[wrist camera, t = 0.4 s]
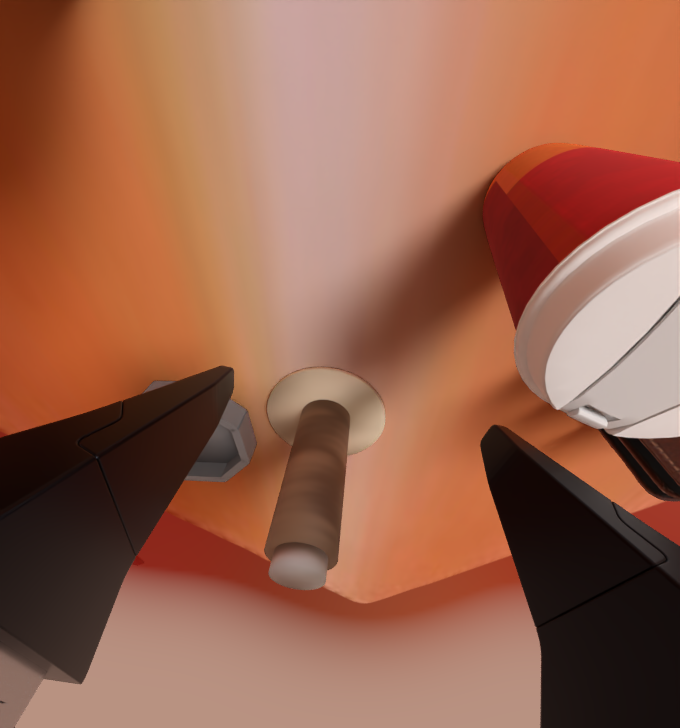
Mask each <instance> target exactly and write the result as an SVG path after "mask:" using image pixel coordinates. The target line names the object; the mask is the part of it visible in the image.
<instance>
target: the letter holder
mask: <svg viewBox="0 0 680 728" xmlns="http://www.w3.org/2000/svg"><path fill="white" fill-rule="evenodd" d="M598 430H599V431H600V432H601V434H602V435H603V437H604V438H605V439H606V440H607V442H608V443H609V444H610V446H611V447H612V448H613V449H614V450H615V452H616V453H617V454H618V455H619V457H620V458H621V459H622V460H623V462H624V463H625V464H626V466H627V467H628V469H629V470H630V471H631V472H632V474H633V475H634V476H635V478H636V479H637V481H638V482H639V483H640V485H641V486H642V487H643V488H644V489H645V490H646V491H647V492H648V493H649V494H651V495H653V496H654V497H656V498H658V499H661V500H664V501H680V437H671V438H627V437H619V436H613V435H612V434H608V433H607V432H606V431H605V430H604V428H602V429H598Z"/></svg>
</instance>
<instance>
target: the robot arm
mask: <svg viewBox="0 0 680 728" xmlns="http://www.w3.org/2000/svg"><path fill="white" fill-rule="evenodd" d="M233 388H234V370H233V368H231V367H226V366H219V367H216V368H213V369H210V370H207V371H205V372H202V373H199V374H196V375H193V376H191V377H188V378H185V379H182V380H179V381H176V382H174V383H171V384H168V385H165V386H162V387H160V388H157V389H154V390H151V391H148V392H145V393H143V394H140V395H137V396H134V397H131V398H129V399H126V400H124V401H123V402H122V401H119V402H116V403H113V404H110V405H108V406H105V407H102V408H99V409H96V410H93V411H90V412H87V413H83V414H80V415H77V416H73V417H70V418H67V419H63V420H60V421H56V422H53V423H49V424H46V425H42V426H39V427H35V428H32V429H28V430H25V431H21V432H18V433H14V434H11V435H8V436H4V437H1V438H0V728H15V725H16V724H17V722H18V720H19V718H20V717H21V715H22V713H23V712H24V710H25V708H26V707H27V705H28V704H29V702H30V700H31V698H32V697H33V695H34V694H35V692H36V690H37V688H38V687H39V685H40V684H41V682H42V680H43V679H49V680H55V681H62V682H68V683H75V684H82V682H83V680H84V679H85V677H86V674H87V672H88V670H89V667H90V665H91V662H92V660H93V657H94V654H95V652H96V649H97V647H98V644H99V642H100V639H101V636H102V634H103V631H104V629H105V626H106V623H107V621H108V618H109V616H110V613H111V611H112V608H113V605H114V603H115V600H116V598H117V595H118V592H119V590H120V587H121V585H122V582H123V580H124V578H125V576H126V574H127V572H128V570H129V568H130V566H131V564H132V563H133V561H134V559H135V556H137V555H138V553H139V551H140V550H141V548H142V547H143V545H144V543H145V542H146V540H147V539H148V537H149V535H150V534H151V532H152V531H153V529H154V527H155V526H156V524H157V523H158V521H159V519H160V518H161V516H162V514H163V513H164V511H165V510H166V508H167V507H168V505H169V503H170V502H171V500H172V499H173V497H174V495H175V494H176V492H177V491H178V489H179V487H180V486H181V484H182V483H183V481H184V479H185V478H186V476H187V475H188V473H189V471H190V470H191V468H192V467H193V465H194V463H195V462H196V460H197V459H198V457H199V455H200V454H201V452H202V451H203V449H204V448H205V446H206V444H207V443H208V441H209V440H210V438H211V436H212V435H213V433H214V431H215V430H216V428H217V426H218V424H219V422H220V420H221V417H222V415H223V413H224V411H225V409H226V406H227V404H228V402H229V400H230V398H231V395H232V393H233ZM480 447H481V452H482V457H483V462H484V466H485V471H486V476H487V480H488V484H489V487H490V491H491V494H492V497H493V500H494V503H495V506H496V509H497V512H498V515H499V518H500V521H501V524H502V527H503V530H504V533H505V536H506V539H507V542H508V545H509V548H510V551H511V554H512V557H513V560H514V563H515V566H516V569H517V572H518V575H519V578H520V581H521V584H522V587H523V590H524V593H525V596H526V599H527V602H528V605H529V608H530V611H531V615H532V617H533V620H534V623H535V626H536V627H537V628H536V629H537V633H538V637H539V641H540V646H541V722H540V723H541V724H540V725H541V727H540V728H680V546H678V545H677V544H675V543H674V542H672V541H670V540H669V539H668V538H666V537H665V536H663V535H662V534H660V533H658V532H657V531H656V530H654V529H653V528H651V527H650V526H648V525H646V524H645V523H643V522H642V521H641V520H639V519H638V518H636V517H635V516H633V515H632V514H630V513H629V512H628V511H626V510H625V509H623V508H622V507H620V506H619V505H617V504H616V503H615V502H611V500H610V499H608V498H607V497H605V496H604V495H602V494H601V493H600V492H598V491H597V490H595V489H594V488H592V487H591V486H590V485H588V484H587V483H585V482H584V481H582V480H581V479H579V478H578V477H577V476H575V475H574V474H572V473H571V472H569V471H568V470H567V469H565V468H564V467H562V466H561V465H559V464H558V463H557V462H555V461H554V460H552V459H551V458H549V457H548V456H547V455H545V454H544V453H542V452H541V451H539V450H538V449H537V448H535V447H534V446H532V445H531V444H529V443H528V442H526V441H525V440H524V439H522V438H521V437H519V436H518V435H516V434H515V433H514V432H512V431H511V430H509V429H508V428H506V427H504V426H500V425H492V426H491V427H490V429H489V430H488V431H487V433H486V434H485V436H484V437H483V438H482V440H481V444H480Z"/></svg>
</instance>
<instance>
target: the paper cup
mask: <svg viewBox="0 0 680 728" xmlns="http://www.w3.org/2000/svg"><path fill="white" fill-rule="evenodd" d="M483 223H484V228H485V232H486V236H487V240H488V243H489V246H490V250H491V253H492V256H493V259H494V263H495V266H496V269H497V272H498V275H499V279H500V282H501V285H502V288H503V291H504V294H505V297H506V300H507V304H508V307H509V310H510V313H511V316H512V319H513V322H514V326H515V329H516V334H515V338H514V357H515V362H516V367H517V369H518V371H519V373H520V376H521V378H522V380H523V381H524V382H525V384H526V385H527V386H528V387H529V389H530V390H531V391H532V392H534V393H535V394H536V395H537V396H538V397H540V398H541V399H542V400H544V401H546V402H547V403H549V404H551V406H552V407H553V408H554V409H557V410H561V411H563V412H565V413H566V414H567V416H569V417H571V418H573V419H575V420H578V421H580V422H582V423H584V424H586V425H588V426H591V427H593V428H595V429H602V428H604V430H605V431H606V432H607V433H608V434H612V435H613V436H619V437H627V438H671V437H680V162H675V161H669V160H664V159H658V158H653V157H647V156H641V155H636V154H630V153H624V152H619V151H613V150H607V149H601V148H595V147H589V146H583V145H576V144H567V143H550V144H544V145H540V146H537V147H534V148H531V149H529V150H527V151H525V152H523V153H521V154H519V155H518V156H516V157H515V158H514V159H512V160H511V161H510V162H509V163H508V164H507V165H505V166H504V167H503V169H502V170H501V171H500V172H499V173H498V174H497V176H496V177H495V178H494V180H493V181H492V183H491V185H490V187H489V189H488V191H487V194H486V196H485V200H484V204H483Z"/></svg>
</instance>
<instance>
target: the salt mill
mask: <svg viewBox="0 0 680 728" xmlns="http://www.w3.org/2000/svg"><path fill="white" fill-rule="evenodd" d="M349 429H350V415H349V413H348V411H347V410H346V409H345V408H344V407H343V406H342V405H340V404H339V403H337V402H334V401H331V400H315V401H312V402H310V403H308V404H307V405H306V406H305V407H304V408H303V410H302V412H301V416H300V420H299V423H298V427H297V431H296V434H295V438H294V442H293V445H292V449H291V453H290V456H289V460H288V464H287V467H286V471H285V475H284V478H283V482H282V486H281V489H280V493H279V497H278V501H277V504H276V508H275V512H274V515H273V519H272V523H271V526H270V530H269V534H268V537H267V541H266V545H265V548H264V552H265V554H266V556H267V557H268V559H269V560H271V565H270V569H269V576H270V578H271V579H272V580H273V581H275V582H276V583H278V584H280V585H283V586H285V587H288V588H293V589H300V590H312V589H317V588H320V587H322V586H323V585H324V584H325V582H326V574H327V570H329V569H332V568H333V567H334V566H335V565H336V564H337V562H338V553H339V541H340V530H341V519H342V508H343V496H344V485H345V474H346V463H347V452H348V440H349Z"/></svg>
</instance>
